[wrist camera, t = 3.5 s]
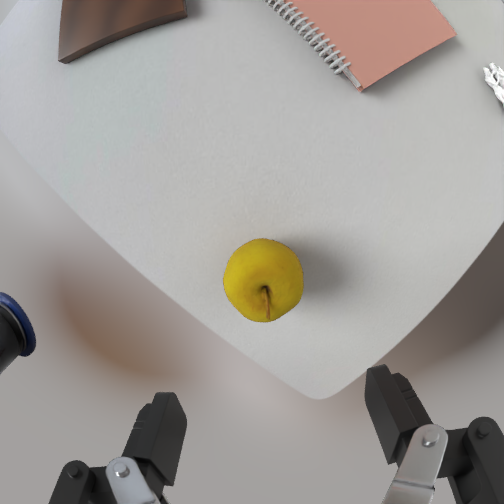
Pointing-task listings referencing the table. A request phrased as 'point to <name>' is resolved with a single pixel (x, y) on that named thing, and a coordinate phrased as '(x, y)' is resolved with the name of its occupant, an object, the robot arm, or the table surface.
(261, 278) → the apple
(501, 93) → the figurine
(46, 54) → the table surface
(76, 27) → the cutting board
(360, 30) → the notebook
